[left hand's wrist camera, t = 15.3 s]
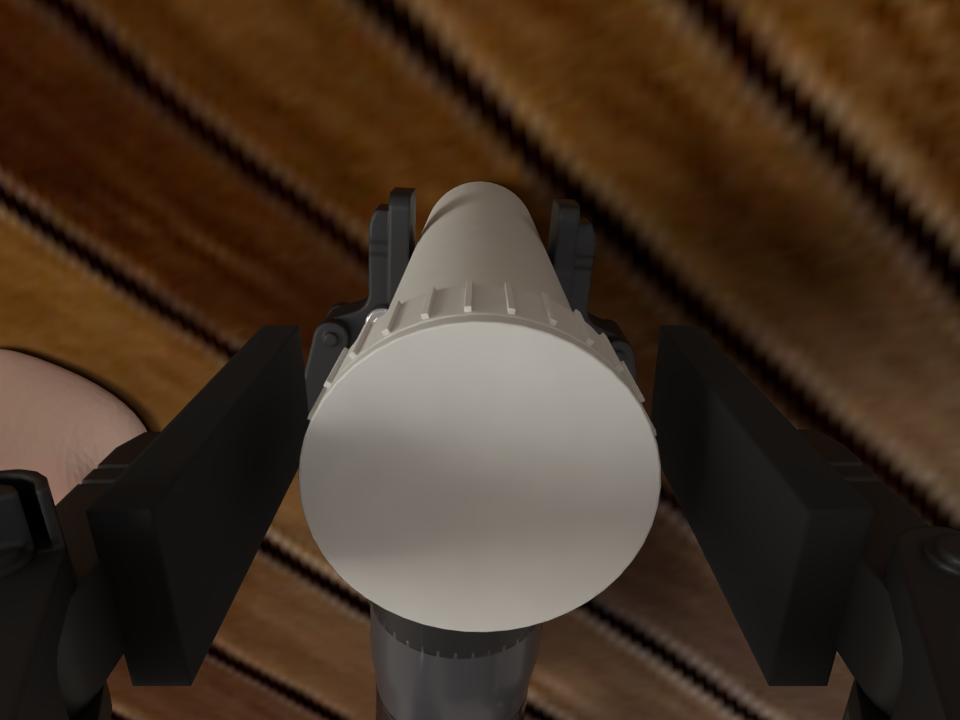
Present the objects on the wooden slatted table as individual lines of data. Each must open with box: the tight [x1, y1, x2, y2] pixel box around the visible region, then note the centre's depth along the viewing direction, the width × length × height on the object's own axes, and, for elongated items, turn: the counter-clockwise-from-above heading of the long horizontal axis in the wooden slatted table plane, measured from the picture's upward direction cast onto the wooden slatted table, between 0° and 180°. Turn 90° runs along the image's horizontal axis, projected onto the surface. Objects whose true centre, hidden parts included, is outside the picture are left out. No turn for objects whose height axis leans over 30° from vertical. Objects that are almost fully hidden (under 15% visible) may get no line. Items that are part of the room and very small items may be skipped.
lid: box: [299, 280, 661, 632], centre depth 11 cm, size 6×6×2 cm
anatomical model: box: [0, 349, 147, 506], centre depth 31 cm, size 13×4×12 cm
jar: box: [387, 182, 572, 312], centre depth 20 cm, size 5×5×20 cm
